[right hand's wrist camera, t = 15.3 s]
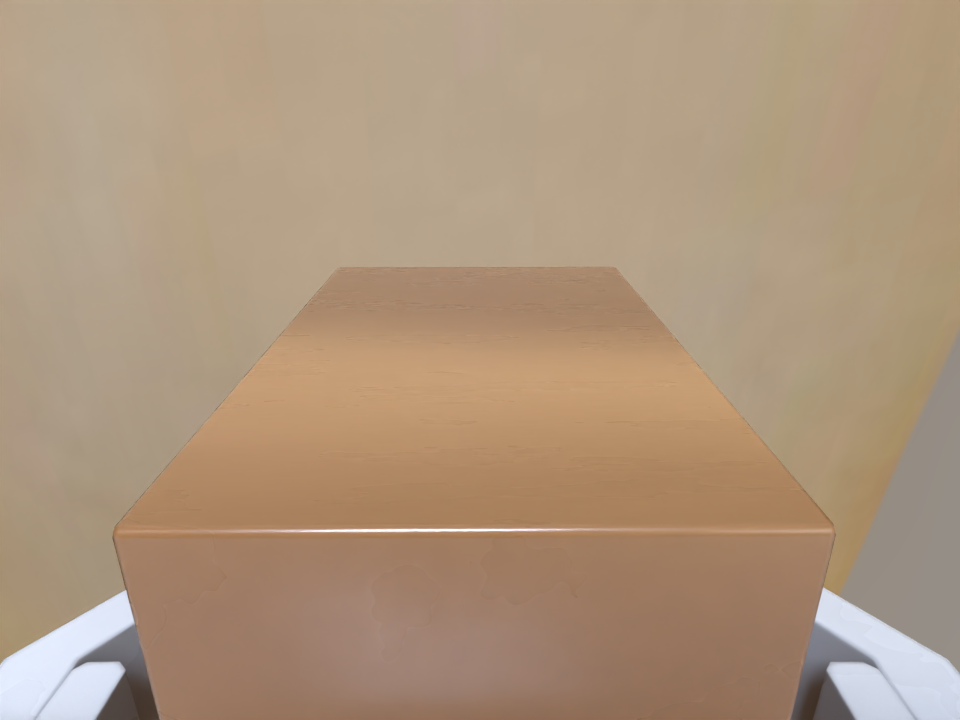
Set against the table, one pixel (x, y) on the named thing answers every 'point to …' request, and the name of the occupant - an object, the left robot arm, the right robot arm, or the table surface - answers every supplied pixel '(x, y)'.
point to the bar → (475, 519)
